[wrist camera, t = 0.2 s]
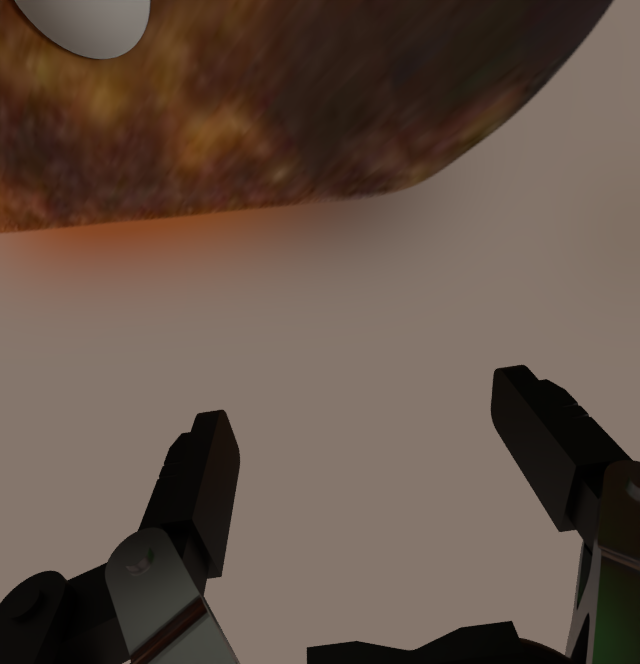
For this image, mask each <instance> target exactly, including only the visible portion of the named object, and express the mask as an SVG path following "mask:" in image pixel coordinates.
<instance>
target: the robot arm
mask: <svg viewBox="0 0 640 664" xmlns="http://www.w3.org/2000/svg"><path fill="white" fill-rule="evenodd" d="M491 416H492V421H493V424H494V426H495V428H496V430H497V432H498V434H499V435H500V437H501V439H502V440H503V442H504V443H505V445H506V447H507V448H508V450H509V451H510V453H511V455H512V456H513V458H514V460H515V461H516V463H517V464H518V466H519V468H520V469H521V471H522V473H523V474H524V476H525V477H526V479H527V481H528V482H529V484H530V486H531V487H532V489H533V490H534V492H535V494H536V495H537V497H538V498H539V500H540V501H541V503H542V505H543V507H544V508H545V510H546V511H547V513H548V515H549V516H550V518H551V519H552V521H553V523H554V524H555V526H556V528H557V529H558V531H559V532H563V531H571V530H577V531H578V533H579V534H580V536H581V537H582V539H583V543H582V547H581V554H580V562H579V569H578V577H577V585H576V593H575V601H574V609H573V616H572V623H571V628H570V632H569V636H568V641H567V646H566V652H565V655H563V654H561V653H560V652H558V651H556V650H554V649H552V648H550V647H547V646H545V645H543V644H540V643H537V642H534V641H530V640H527V639H523V638H519V637H518V634H517V632H516V630H515V627H514V625H513V622H512V621H508V622H500V623H492V624H485V625H477V626H469V627H461V628H459V629H457V630H455V631H453V632H451V633H449V634H446V635H445V636H443V637H440V638H438V639H436V640H434V641H432V642H430V643H428V644H426V645H424V646H422V647H420V648H418V649H415V650H402V649H397V648H391V647H385V646H381V645H375V644H370V643H364V642H359V641H354V642H346V643H338V644H330V645H322V646H314V647H307V664H640V462H638V461H633V460H632V459H631V458H630V457H629V456H628V455H627V454H626V453H625V452H624V451H623V450H622V449H621V448H620V447H619V446H618V445H617V443H616V442H615V441H614V440H613V439H612V438H611V437H610V436H609V435H608V434H607V433H606V432H605V431H604V430H603V429H602V428H601V427H600V426H599V425H598V424H597V422H596V421H595V420H594V419H593V418H592V417H589V415H588V413H587V412H586V411H585V410H584V409H583V408H582V407H581V406H579V405H578V403H577V401H576V400H575V399H574V398H573V397H572V396H570V394H569V393H568V392H567V391H566V390H565V389H563V388H561V387H559V386H558V385H556V384H554V383H553V382H551V381H549V380H547V379H545V380H538V379H537V378H536V376H535V375H534V374H533V373H532V372H531V371H530V370H529V369H528V367H526V366H525V365H517V366H511V367H504V368H498V369H496V370H495V371H494V377H493V388H492V400H491ZM239 468H240V454H239V448H238V445H237V442H236V439H235V436H234V433H233V431H232V428H231V425H230V422H229V420H228V417H227V414H226V412H225V411H224V410H217V411H210V412H203V413H199V414H197V416H196V418H195V420H194V423H193V426H192V429H191V432H188V433H182V434H181V435H180V436H179V437H178V438H177V440H176V441H175V442H174V443H173V445H172V446H171V447H170V448H169V451H168V454H167V456H166V459H165V461H164V466H163V467H162V469H161V472H160V475H159V479H158V480H157V482H156V485H155V488H154V490H153V493H152V495H151V498H150V501H149V503H148V506H147V509H146V511H145V514H144V516H143V519H142V522H141V524H140V527H139V529H138V531H137V532H135V533H133V534H132V535H130V536H129V537H127V538H126V539H125V540H124V541H123V542H122V543H120V544H119V546H118V547H117V548H116V549H115V550H114V552H113V553H112V554H111V557H110V558H109V560H108V562H107V563H105V564H103V565H101V566H99V567H97V568H94V569H92V570H90V571H87V572H85V573H83V574H81V575H79V576H76V577H74V578H72V579H70V580H66V579H65V578H64V577H63V576H62V575H61V574H60V573H58V572H56V571H44V572H41V573H38V574H35V575H33V576H31V577H29V578H28V579H26V580H25V581H23V582H22V583H20V584H19V585H18V586H16V587H15V588H14V589H13V590H12V591H11V592H10V593H9V594H8V595H7V596H6V597H5V598H4V599H3V601H2V602H1V603H0V664H122V663H124V662H126V661H128V660H130V659H131V663H130V664H240V663H239V661H238V659H237V657H236V655H235V653H234V652H233V650H232V648H231V646H230V644H229V642H228V640H227V638H226V637H225V635H224V633H223V631H222V629H221V627H220V625H219V624H218V622H217V620H216V618H215V616H214V614H213V612H212V611H211V609H210V607H209V605H208V603H207V601H206V600H205V598H204V591H205V585H206V581H207V579H209V578H216V577H221V576H222V570H223V564H224V558H225V552H226V545H227V540H228V534H229V527H230V522H231V516H232V510H233V504H234V497H235V492H236V486H237V480H238V474H239Z"/></svg>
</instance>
